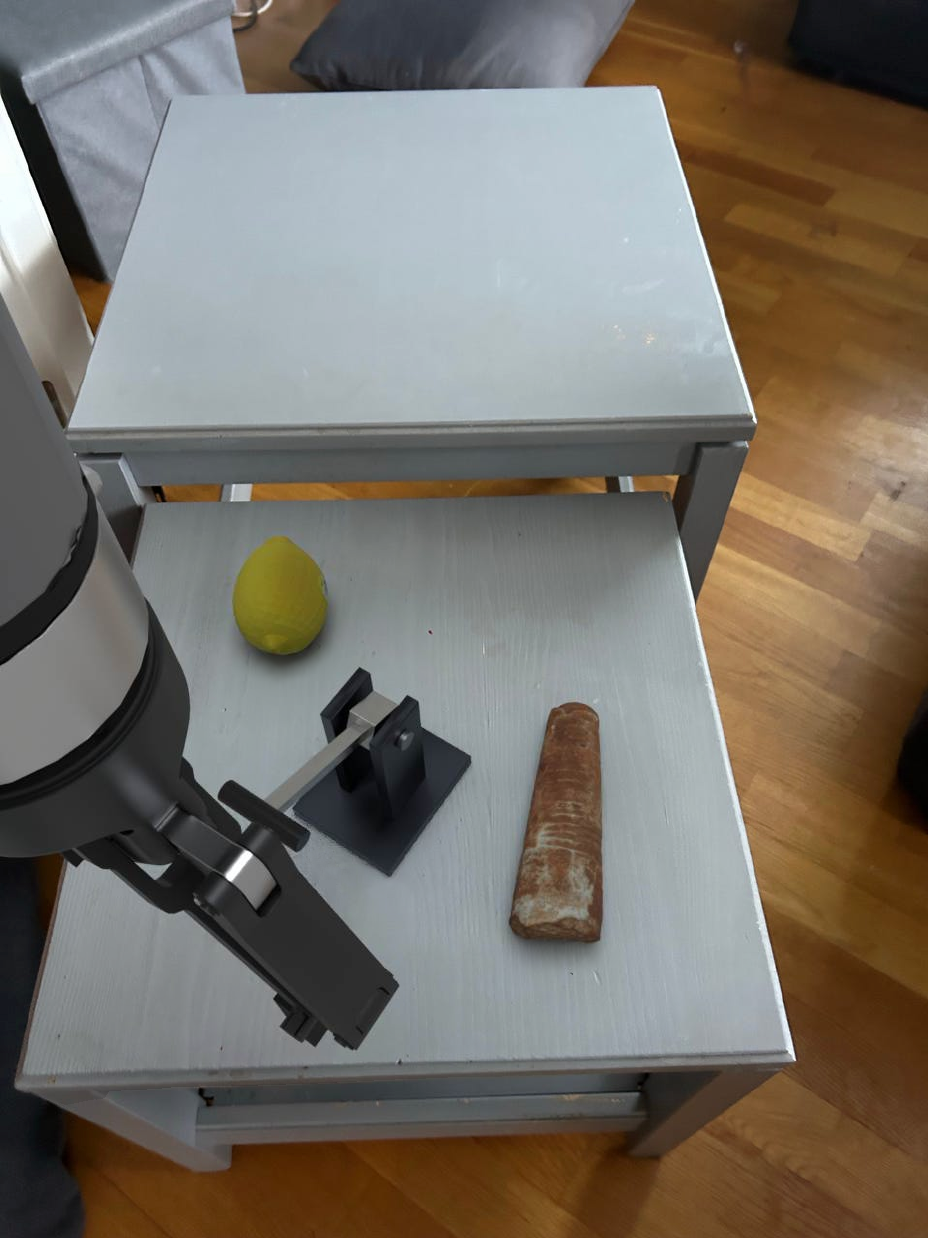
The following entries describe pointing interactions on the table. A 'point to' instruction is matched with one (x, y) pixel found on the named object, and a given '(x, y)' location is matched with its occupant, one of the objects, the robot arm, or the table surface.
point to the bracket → (381, 781)
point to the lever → (308, 774)
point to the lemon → (280, 597)
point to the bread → (563, 835)
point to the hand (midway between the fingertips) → (204, 921)
